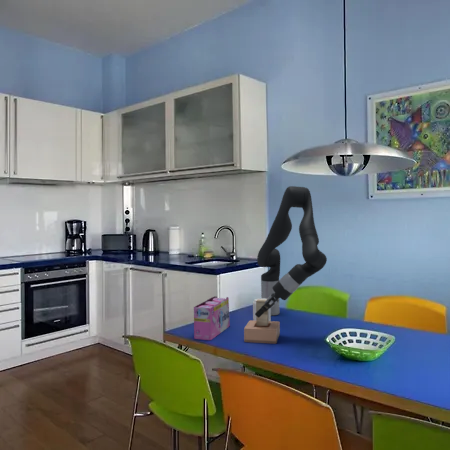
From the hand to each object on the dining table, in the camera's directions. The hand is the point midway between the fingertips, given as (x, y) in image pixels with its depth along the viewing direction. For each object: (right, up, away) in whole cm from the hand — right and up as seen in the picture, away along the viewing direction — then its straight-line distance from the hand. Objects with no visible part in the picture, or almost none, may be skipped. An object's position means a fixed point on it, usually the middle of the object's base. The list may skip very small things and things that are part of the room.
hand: (257, 314), depth 177 cm
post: (+2, -4, 0) cm, 5 cm away
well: (+2, -10, 0) cm, 10 cm away
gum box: (-19, -10, +10) cm, 24 cm away
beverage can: (+3, -9, +19) cm, 22 cm away
